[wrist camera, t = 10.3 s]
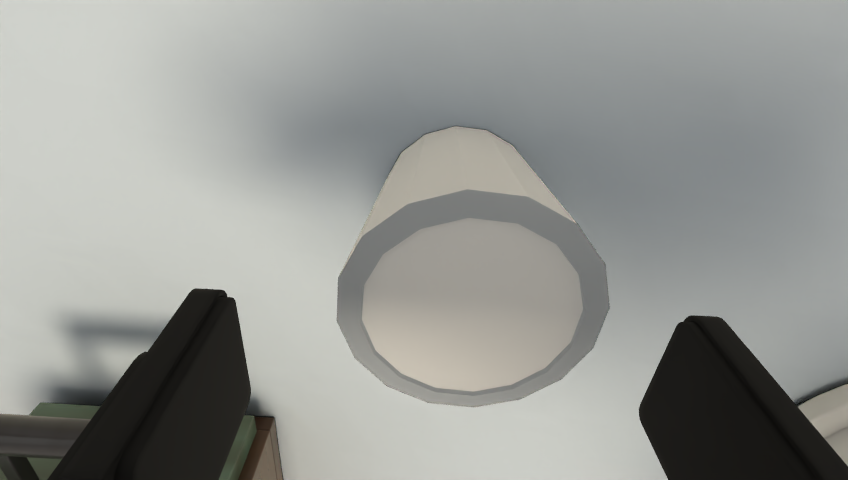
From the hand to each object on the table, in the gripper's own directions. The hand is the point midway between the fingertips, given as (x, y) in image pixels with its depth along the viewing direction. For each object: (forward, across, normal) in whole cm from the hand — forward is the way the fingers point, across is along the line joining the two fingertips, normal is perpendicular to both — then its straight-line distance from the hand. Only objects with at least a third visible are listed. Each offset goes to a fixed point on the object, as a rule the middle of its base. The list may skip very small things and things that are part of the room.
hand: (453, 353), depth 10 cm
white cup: (+9, -1, 0) cm, 9 cm away
